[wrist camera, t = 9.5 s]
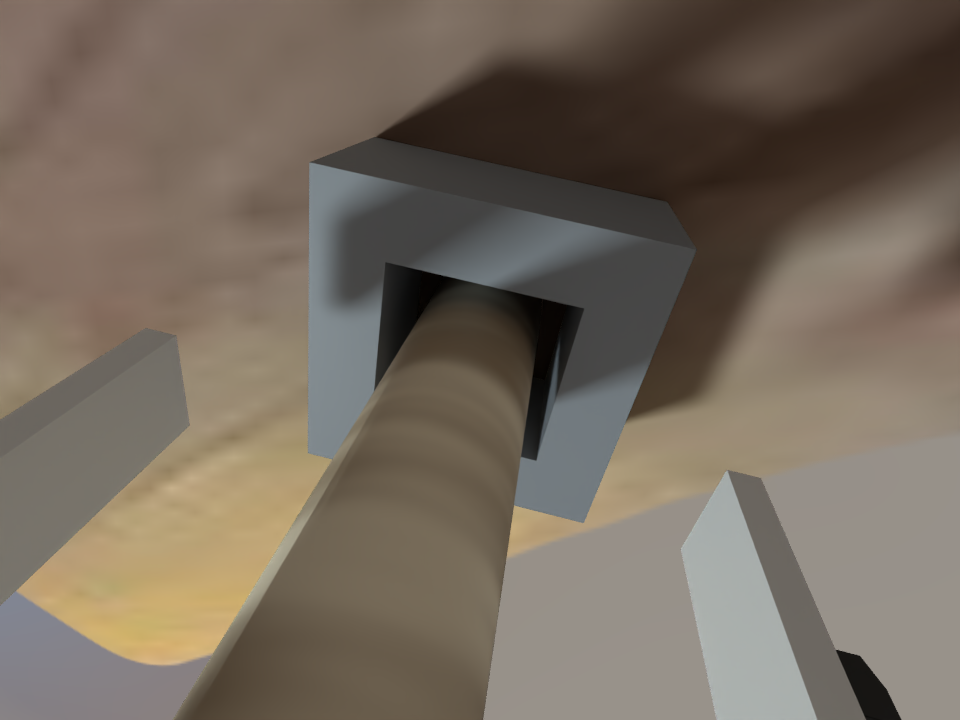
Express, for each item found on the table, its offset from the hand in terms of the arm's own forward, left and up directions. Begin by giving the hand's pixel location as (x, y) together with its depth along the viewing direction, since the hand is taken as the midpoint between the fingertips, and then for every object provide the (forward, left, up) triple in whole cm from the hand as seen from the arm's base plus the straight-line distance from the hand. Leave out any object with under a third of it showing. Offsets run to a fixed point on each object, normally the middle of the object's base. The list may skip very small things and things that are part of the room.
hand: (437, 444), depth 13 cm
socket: (0, 0, -9) cm, 9 cm away
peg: (0, 0, -9) cm, 9 cm away
